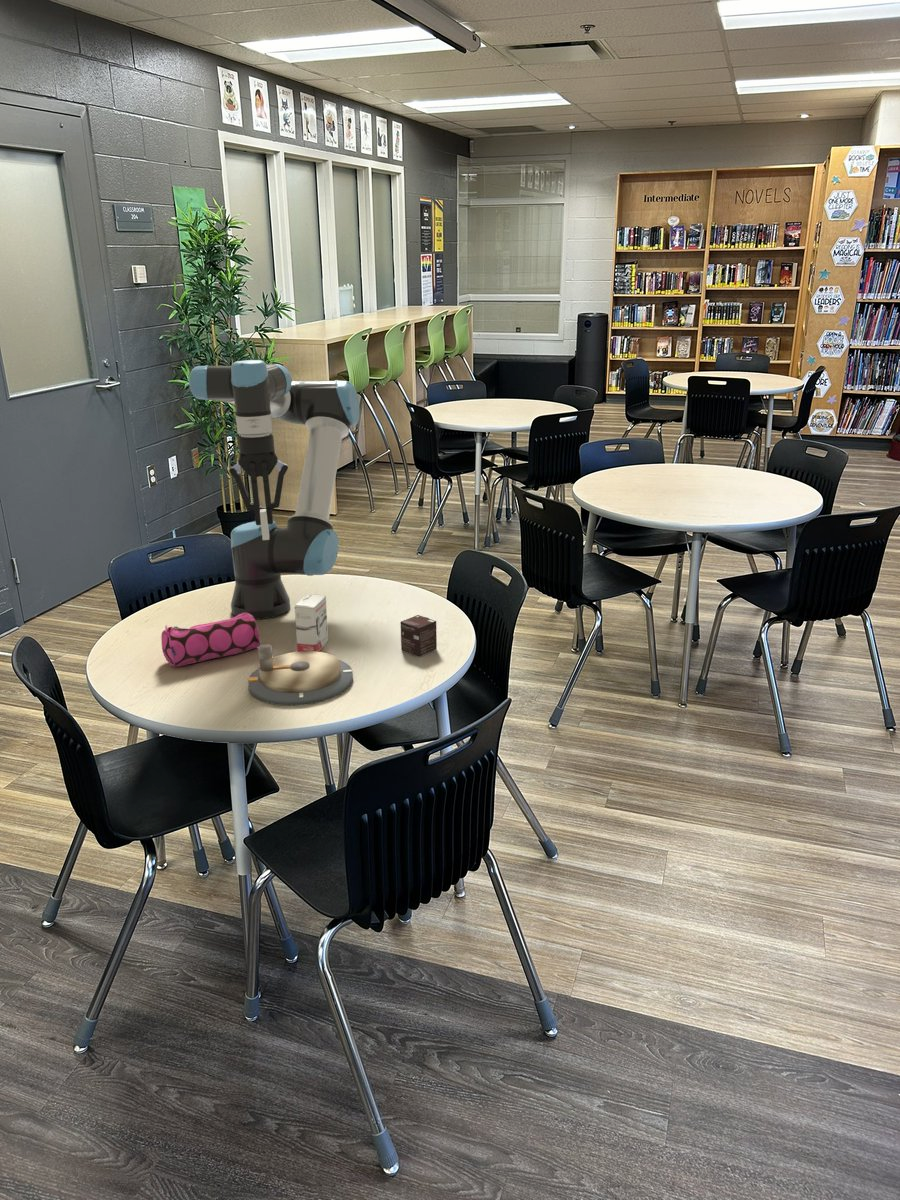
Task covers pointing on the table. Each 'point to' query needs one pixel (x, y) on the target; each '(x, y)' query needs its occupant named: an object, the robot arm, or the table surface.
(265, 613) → the robot arm
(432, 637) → the box
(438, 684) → the table surface
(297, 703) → the dial plate
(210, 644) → the pencil case
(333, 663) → the dial
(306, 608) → the ink box
